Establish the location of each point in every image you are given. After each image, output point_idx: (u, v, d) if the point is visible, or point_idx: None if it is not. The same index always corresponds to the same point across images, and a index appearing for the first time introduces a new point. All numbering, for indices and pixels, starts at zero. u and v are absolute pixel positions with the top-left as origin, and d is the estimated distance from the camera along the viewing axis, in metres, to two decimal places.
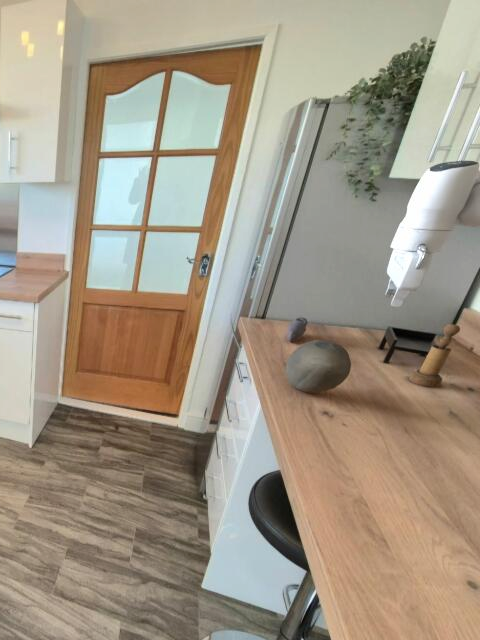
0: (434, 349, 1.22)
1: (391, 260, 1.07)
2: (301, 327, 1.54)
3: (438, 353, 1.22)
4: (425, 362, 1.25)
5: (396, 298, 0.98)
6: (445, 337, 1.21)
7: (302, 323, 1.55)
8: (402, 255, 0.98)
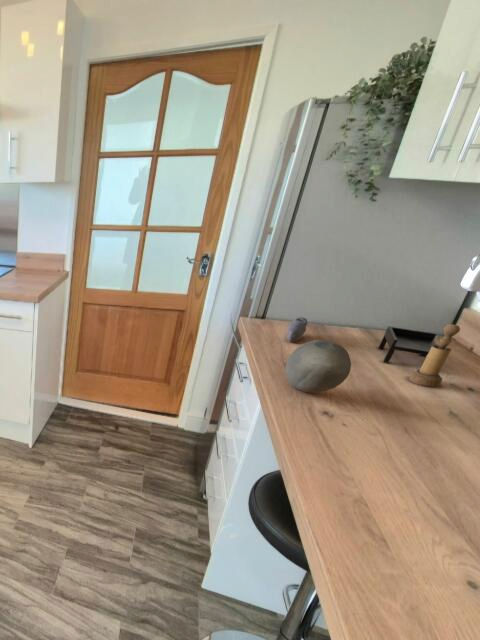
0: (434, 349, 1.22)
1: None
2: (301, 327, 1.54)
3: (438, 353, 1.22)
4: (425, 362, 1.25)
5: (479, 300, 1.05)
6: (445, 337, 1.21)
7: (302, 323, 1.55)
8: None
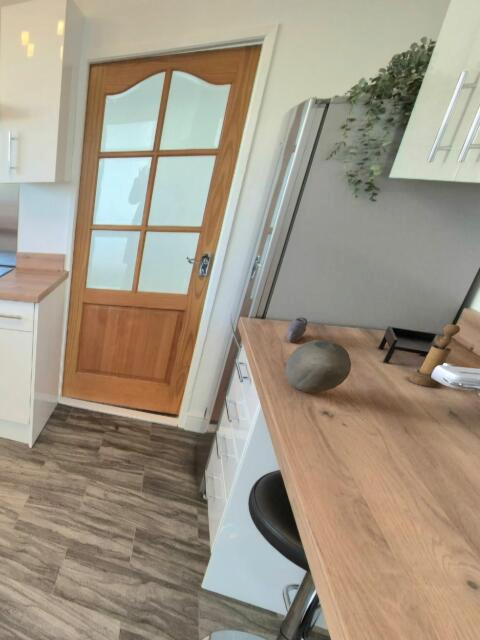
0: (434, 349, 1.22)
1: None
2: (301, 327, 1.54)
3: (438, 353, 1.22)
4: (425, 362, 1.25)
5: None
6: (445, 337, 1.21)
7: (302, 323, 1.55)
8: None
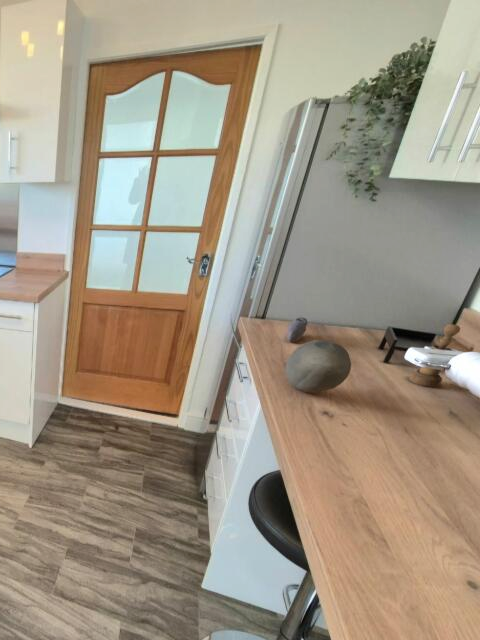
0: None
1: None
2: (301, 327, 1.54)
3: None
4: None
5: None
6: (445, 337, 1.21)
7: (302, 323, 1.55)
8: None
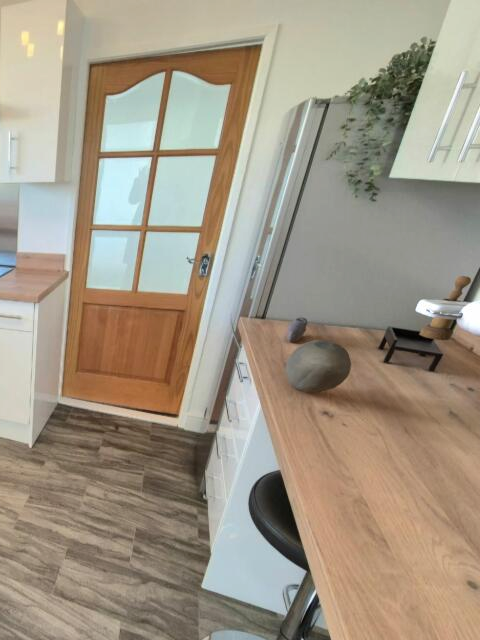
0: None
1: None
2: (301, 327, 1.54)
3: None
4: None
5: None
6: (456, 289, 1.22)
7: (302, 323, 1.55)
8: None
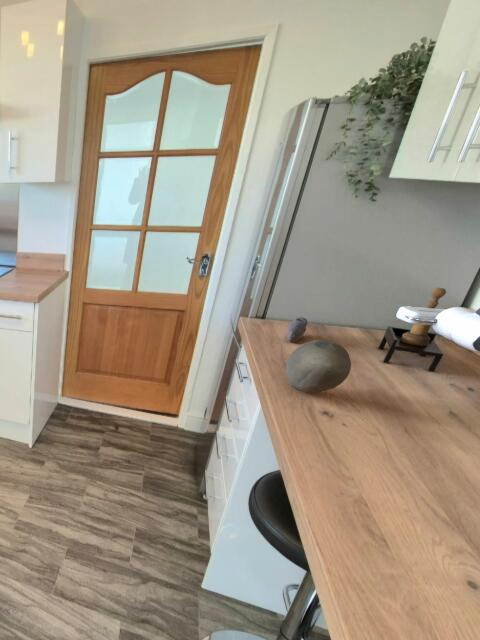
0: None
1: None
2: (301, 327, 1.54)
3: None
4: None
5: None
6: (433, 300, 1.33)
7: (302, 323, 1.55)
8: None
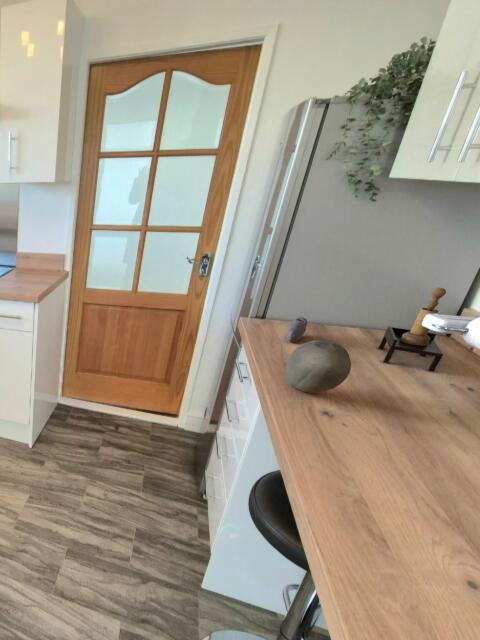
0: (423, 311, 1.35)
1: None
2: (301, 327, 1.54)
3: (426, 314, 1.34)
4: (415, 323, 1.38)
5: None
6: (433, 300, 1.33)
7: (302, 323, 1.55)
8: None
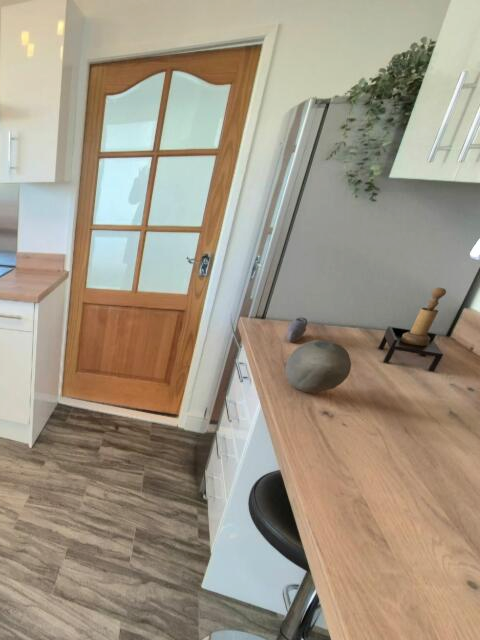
0: (423, 311, 1.35)
1: None
2: (301, 327, 1.54)
3: (426, 314, 1.34)
4: (415, 323, 1.38)
5: None
6: (433, 300, 1.33)
7: (302, 323, 1.55)
8: None
